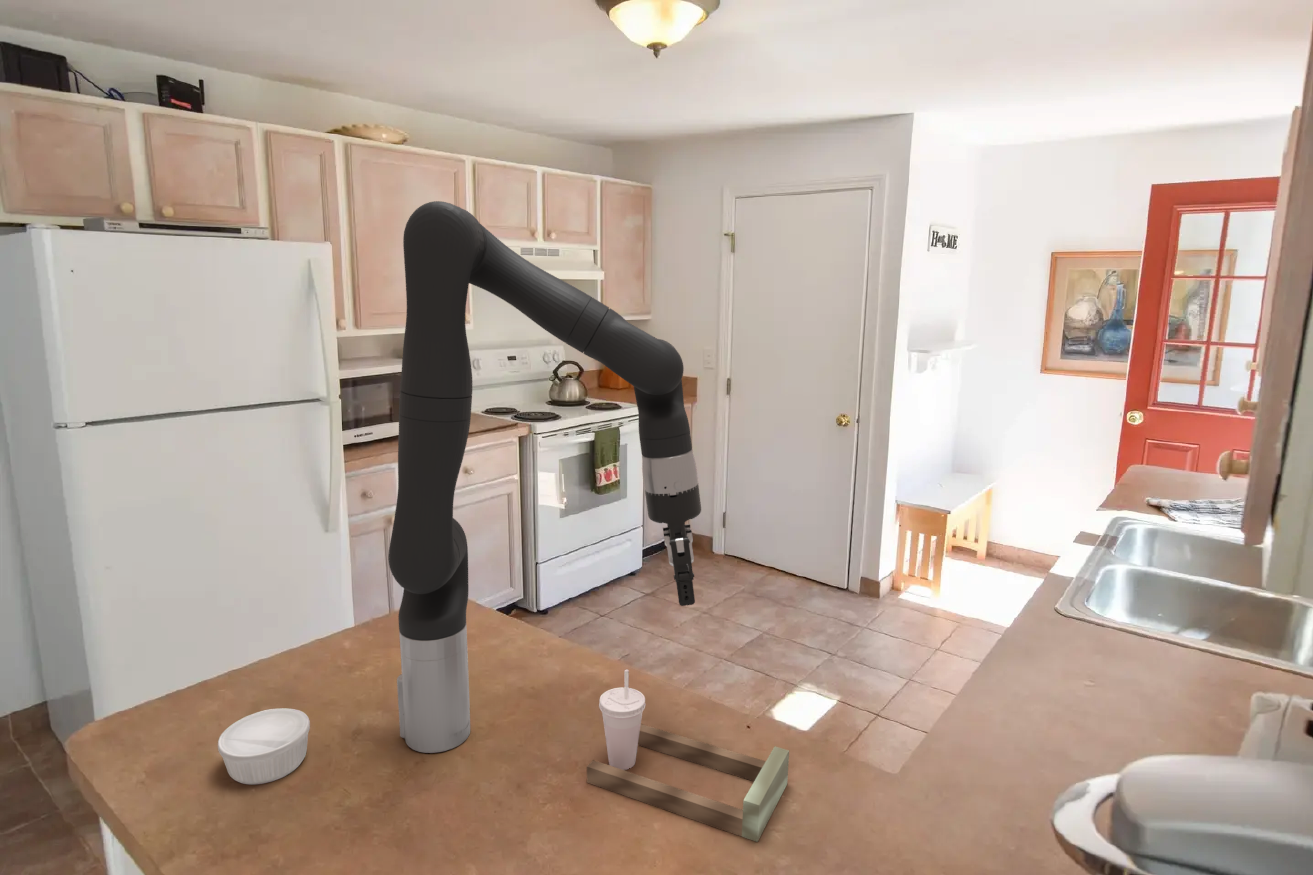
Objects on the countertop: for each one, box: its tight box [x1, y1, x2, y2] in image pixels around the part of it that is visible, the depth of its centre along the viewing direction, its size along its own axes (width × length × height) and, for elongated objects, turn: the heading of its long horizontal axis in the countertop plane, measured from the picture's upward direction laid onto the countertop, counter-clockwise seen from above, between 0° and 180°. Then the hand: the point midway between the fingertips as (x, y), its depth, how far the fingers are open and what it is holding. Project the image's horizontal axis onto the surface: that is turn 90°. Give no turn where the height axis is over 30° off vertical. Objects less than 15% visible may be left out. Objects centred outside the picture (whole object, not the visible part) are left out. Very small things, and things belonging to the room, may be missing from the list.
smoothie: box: [598, 669, 646, 771], centre depth 105 cm, size 6×6×14 cm
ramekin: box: [217, 707, 311, 786], centre depth 104 cm, size 11×11×5 cm
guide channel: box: [586, 723, 790, 843], centre depth 101 cm, size 24×12×5 cm, turn 64°
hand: (684, 591), depth 109 cm, fingers open, 8 cm apart
